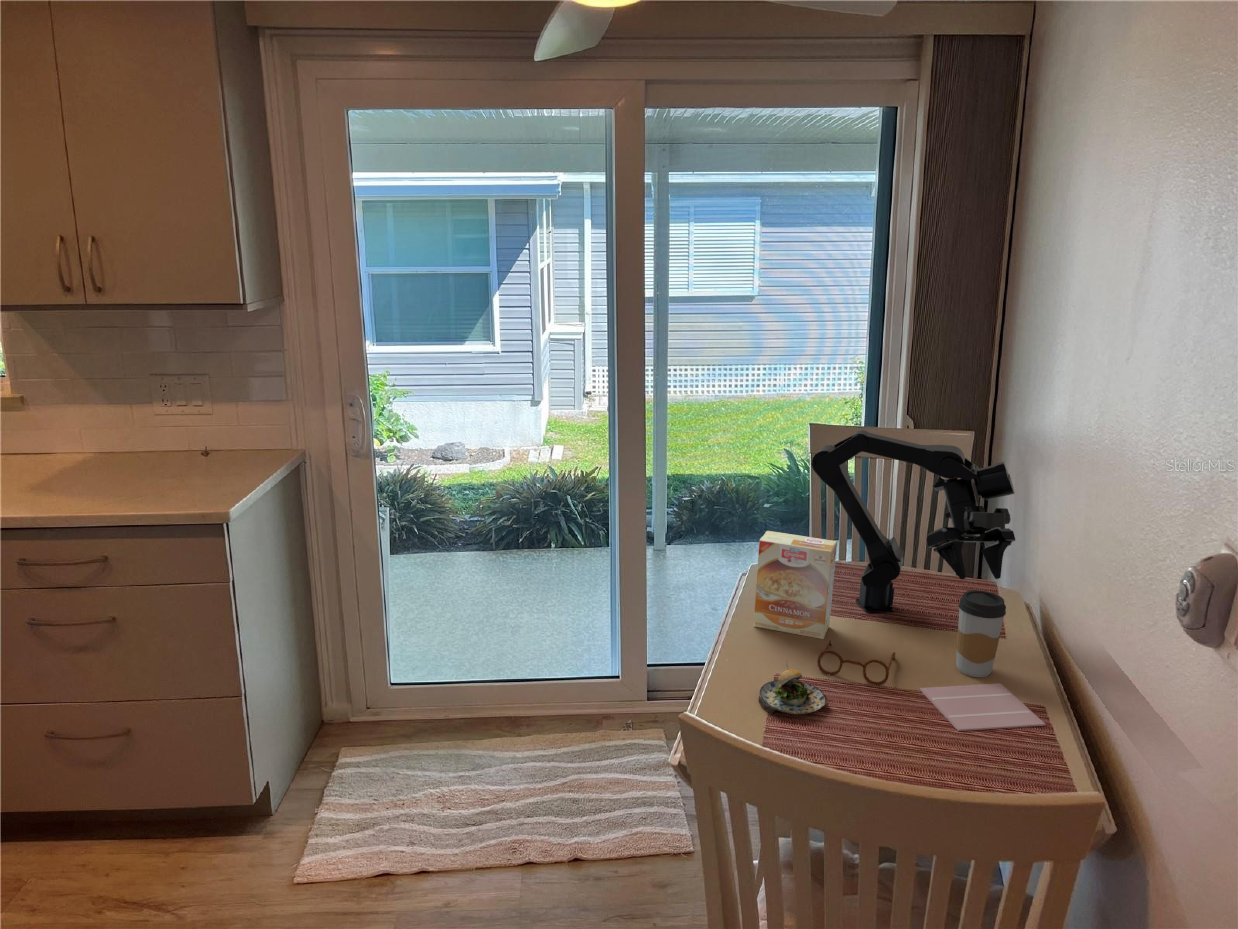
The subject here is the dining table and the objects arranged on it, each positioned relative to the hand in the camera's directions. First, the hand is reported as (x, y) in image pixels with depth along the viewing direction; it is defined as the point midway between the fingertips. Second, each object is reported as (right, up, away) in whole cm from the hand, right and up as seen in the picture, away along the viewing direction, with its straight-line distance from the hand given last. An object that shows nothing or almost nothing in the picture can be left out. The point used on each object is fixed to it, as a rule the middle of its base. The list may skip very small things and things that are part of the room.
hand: (980, 578), depth 181 cm
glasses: (-27, -16, -7) cm, 32 cm away
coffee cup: (-5, -17, -8) cm, 19 cm away
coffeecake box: (-37, -11, +8) cm, 39 cm away
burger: (-42, -20, -22) cm, 51 cm away
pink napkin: (-9, -20, -22) cm, 31 cm away
